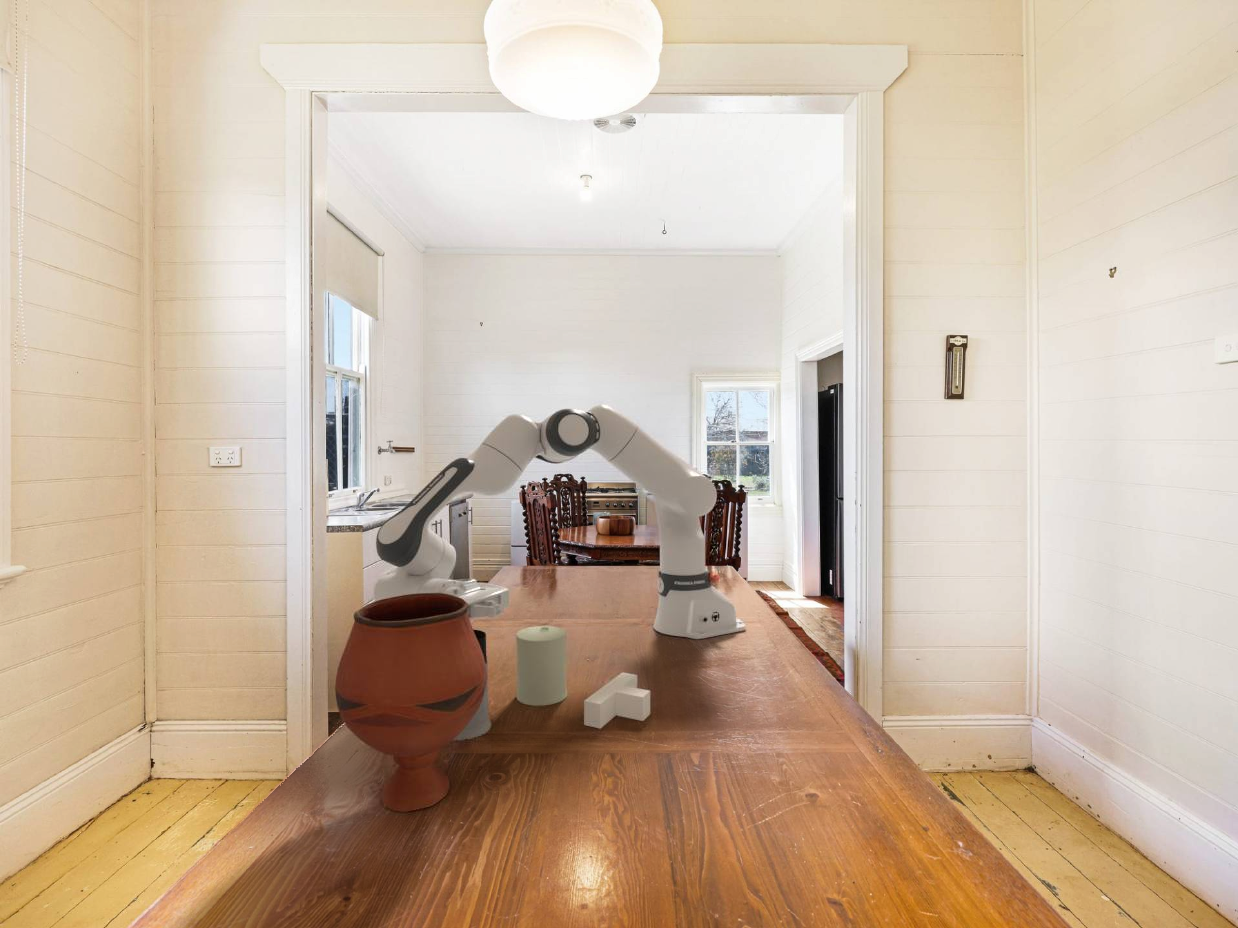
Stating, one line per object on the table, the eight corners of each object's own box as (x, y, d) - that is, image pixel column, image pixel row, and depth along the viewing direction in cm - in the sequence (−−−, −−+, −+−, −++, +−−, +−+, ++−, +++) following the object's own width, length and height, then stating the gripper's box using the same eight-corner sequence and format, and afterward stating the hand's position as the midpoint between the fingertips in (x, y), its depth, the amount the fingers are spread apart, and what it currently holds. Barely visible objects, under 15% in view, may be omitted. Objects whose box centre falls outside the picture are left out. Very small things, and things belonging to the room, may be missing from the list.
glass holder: (500, 719, 105) (499, 630, 105) (456, 760, 91) (454, 658, 91) (453, 713, 107) (452, 626, 107) (403, 753, 94) (402, 653, 93)
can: (571, 686, 119) (570, 623, 119) (562, 707, 110) (561, 638, 109) (523, 684, 120) (522, 622, 119) (510, 705, 111) (509, 637, 110)
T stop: (584, 724, 103) (584, 700, 103) (622, 693, 115) (622, 672, 115) (628, 734, 99) (628, 709, 99) (662, 701, 112) (662, 679, 112)
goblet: (435, 743, 97) (432, 581, 96) (519, 786, 85) (517, 602, 84) (308, 798, 82) (304, 608, 81) (388, 859, 70) (384, 637, 69)
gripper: (402, 597, 115) (461, 606, 109) (475, 576, 133) (530, 583, 127) (402, 631, 115) (461, 643, 109) (475, 606, 134) (530, 614, 127)
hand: (499, 611), depth 118 cm, fingers closed
